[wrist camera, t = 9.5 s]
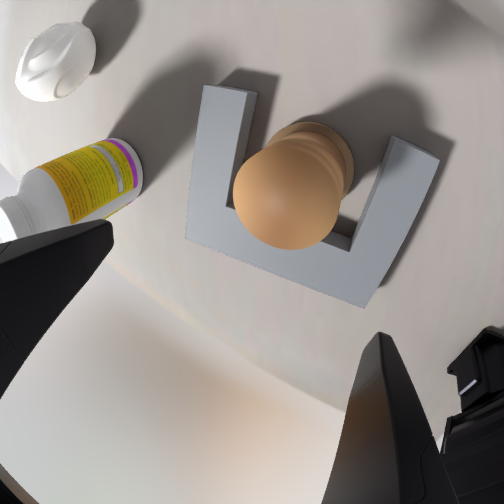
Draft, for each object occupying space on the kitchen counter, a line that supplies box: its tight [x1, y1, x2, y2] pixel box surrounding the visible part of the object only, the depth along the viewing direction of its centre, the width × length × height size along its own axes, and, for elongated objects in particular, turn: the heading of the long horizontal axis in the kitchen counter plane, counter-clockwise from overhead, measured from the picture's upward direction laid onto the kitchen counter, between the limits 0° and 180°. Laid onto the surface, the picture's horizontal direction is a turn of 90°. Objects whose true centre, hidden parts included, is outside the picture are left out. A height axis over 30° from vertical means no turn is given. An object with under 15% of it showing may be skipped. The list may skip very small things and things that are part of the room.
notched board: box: [185, 85, 440, 309], centre depth 19 cm, size 15×12×2 cm
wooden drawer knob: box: [233, 122, 354, 250], centre depth 16 cm, size 6×6×7 cm
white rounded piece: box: [15, 22, 96, 101], centre depth 16 cm, size 8×8×8 cm
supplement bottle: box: [0, 138, 143, 243], centre depth 19 cm, size 7×7×13 cm
